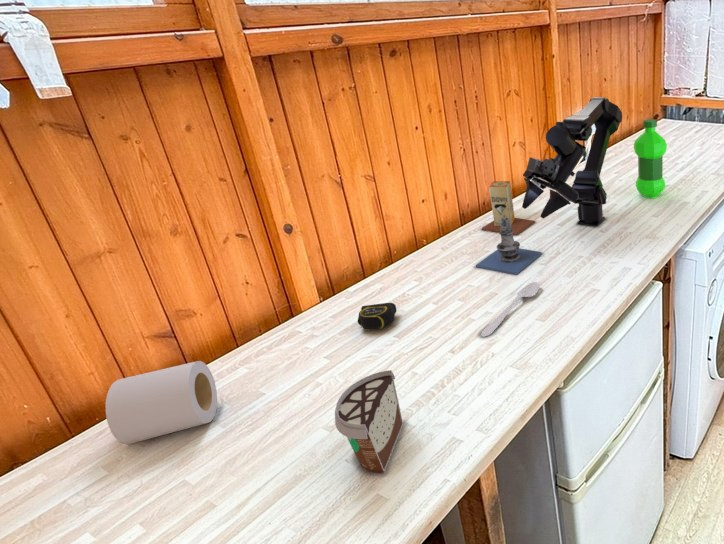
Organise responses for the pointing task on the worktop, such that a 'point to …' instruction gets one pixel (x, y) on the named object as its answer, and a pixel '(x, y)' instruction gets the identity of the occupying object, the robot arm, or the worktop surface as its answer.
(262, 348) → the worktop surface
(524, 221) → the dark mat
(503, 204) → the shoe polish box
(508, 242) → the grey chess piece
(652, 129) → the plastic bottle
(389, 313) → the tape measure
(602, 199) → the robot arm
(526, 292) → the spoon
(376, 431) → the food container
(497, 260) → the blue mat
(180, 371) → the toilet paper
